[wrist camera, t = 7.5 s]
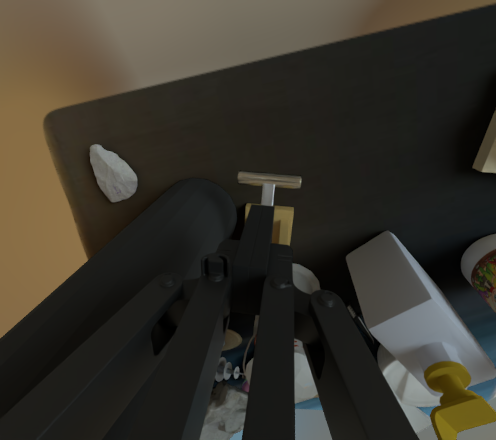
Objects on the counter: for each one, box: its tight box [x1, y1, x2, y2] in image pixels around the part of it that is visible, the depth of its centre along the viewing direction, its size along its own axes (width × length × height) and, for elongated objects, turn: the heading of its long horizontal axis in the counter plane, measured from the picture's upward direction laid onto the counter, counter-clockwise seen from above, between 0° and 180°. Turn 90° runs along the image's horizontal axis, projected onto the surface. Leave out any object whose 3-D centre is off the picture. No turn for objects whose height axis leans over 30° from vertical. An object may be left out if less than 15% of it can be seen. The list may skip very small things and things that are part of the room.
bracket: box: [245, 203, 294, 246], centre depth 32 cm, size 7×6×13 cm
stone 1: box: [90, 144, 137, 202], centre depth 36 cm, size 6×8×2 cm
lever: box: [238, 170, 302, 206], centre depth 27 cm, size 12×6×2 cm, turn 178°
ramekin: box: [377, 344, 468, 407], centre depth 41 cm, size 11×11×5 cm
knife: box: [346, 301, 374, 345], centre depth 42 cm, size 10×2×1 cm, turn 31°
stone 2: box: [200, 380, 248, 440], centre depth 45 cm, size 15×28×10 cm, turn 166°
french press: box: [243, 264, 320, 403], centre depth 31 cm, size 10×12×25 cm
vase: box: [0, 178, 237, 440], centre depth 25 cm, size 10×10×30 cm
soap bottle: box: [346, 231, 496, 440], centre depth 27 cm, size 12×7×23 cm, turn 44°
